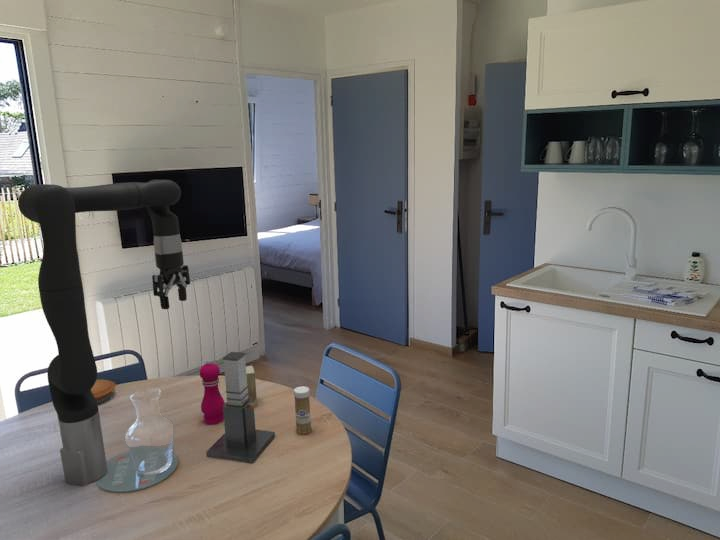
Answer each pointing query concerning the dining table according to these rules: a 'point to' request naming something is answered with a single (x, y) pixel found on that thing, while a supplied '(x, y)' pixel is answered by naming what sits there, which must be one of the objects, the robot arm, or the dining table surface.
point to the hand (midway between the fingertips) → (174, 304)
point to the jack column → (236, 379)
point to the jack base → (240, 435)
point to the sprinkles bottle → (302, 410)
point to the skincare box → (251, 384)
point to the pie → (102, 390)
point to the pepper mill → (211, 394)
